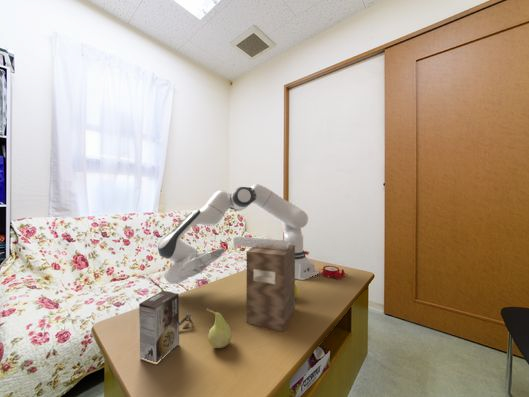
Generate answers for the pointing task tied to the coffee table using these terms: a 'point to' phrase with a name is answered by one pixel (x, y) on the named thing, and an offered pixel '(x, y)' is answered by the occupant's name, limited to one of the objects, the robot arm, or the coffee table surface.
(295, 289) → the tennis ball
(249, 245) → the aluminium bar
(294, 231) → the robot arm
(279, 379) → the coffee table surface
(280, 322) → the brown patterned box
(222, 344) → the fruit
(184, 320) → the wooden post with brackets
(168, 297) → the coffee box
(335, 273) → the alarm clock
